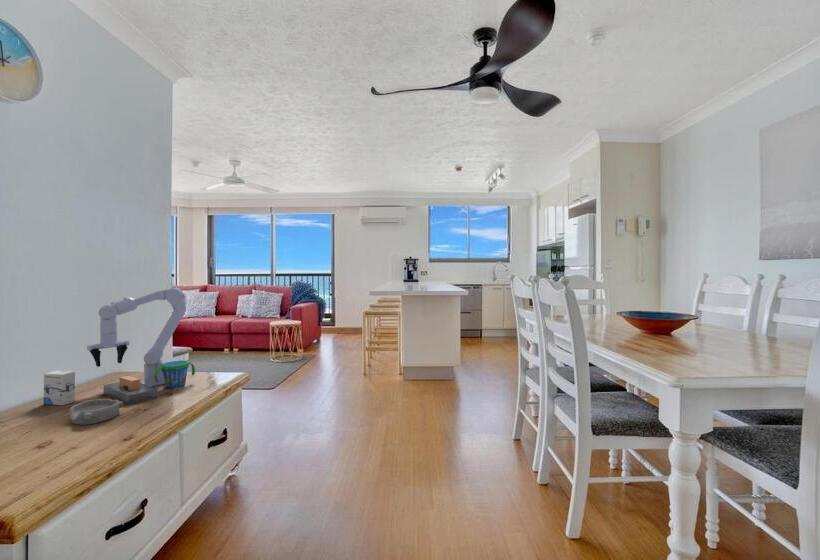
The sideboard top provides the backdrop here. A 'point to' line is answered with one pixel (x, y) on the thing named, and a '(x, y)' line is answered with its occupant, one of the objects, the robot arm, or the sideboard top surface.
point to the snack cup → (174, 373)
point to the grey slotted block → (130, 393)
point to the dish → (94, 411)
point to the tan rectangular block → (129, 382)
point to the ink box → (59, 387)
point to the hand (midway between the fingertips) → (109, 364)
